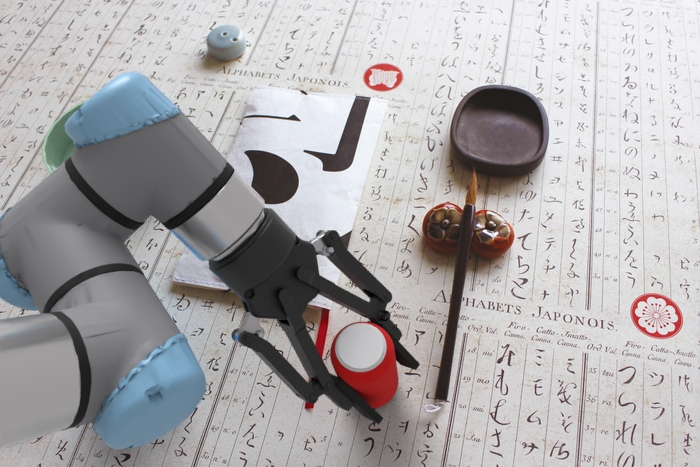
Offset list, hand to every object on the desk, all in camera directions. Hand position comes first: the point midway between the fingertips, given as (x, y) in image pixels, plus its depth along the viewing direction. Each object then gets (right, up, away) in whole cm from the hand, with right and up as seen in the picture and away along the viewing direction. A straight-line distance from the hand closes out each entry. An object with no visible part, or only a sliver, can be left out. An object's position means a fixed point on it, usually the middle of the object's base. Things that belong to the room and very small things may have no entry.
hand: (391, 390), depth 57 cm
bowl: (-38, +27, +23) cm, 52 cm away
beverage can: (-2, -1, +5) cm, 5 cm away
